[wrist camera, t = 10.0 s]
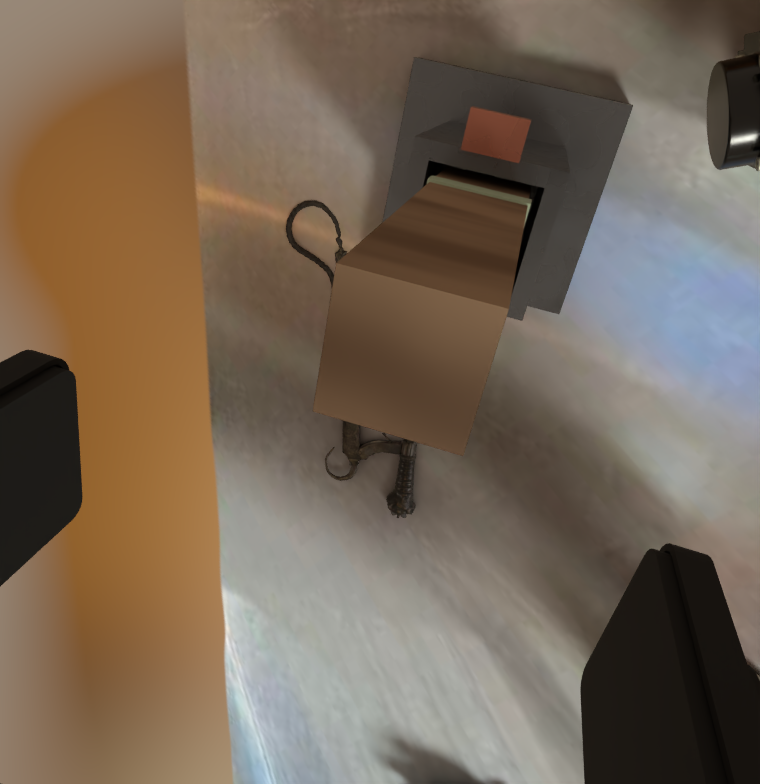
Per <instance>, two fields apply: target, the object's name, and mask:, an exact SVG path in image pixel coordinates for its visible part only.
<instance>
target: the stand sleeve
mask: <svg viewBox="0 0 760 784" xmlns="http://www.w3.org/2000/svg"><path fill="white" fill-rule="evenodd" d="M632 107H633V105H631V104H627V103H622V102H618V101H613V100H609V99H604V98H600V97H595V96H591V95H586V94H581V93H577V92H572V91H568V90H563V89H559V88H554V87H550V86H545V85H541V84H536V83H531V82H527V81H522V80H518V79H513V78H509V77H504V76H500V75H495V74H490V73H486V72H481V71H477V70H472V69H468V68H463V67H459V66H454V65H450V64H445V63H440V62H436V61H431V60H427V59H422V58H417V57H414V61H413V66H412V71H411V76H410V82H409V87H408V92H407V97H406V103H405V108H404V113H403V118H402V124H401V129H400V134H399V139H398V145H397V150H396V155H395V160H394V165H393V171H392V176H391V181H390V186H389V192H388V197H387V202H386V207H385V213H384V218H383V222H384V221H385V220H386V219H387V218H389V217H390V216H391V215H392V214H393V213H394V212H396V211H397V210H398V209H399V208H400V207H401V206H402V205H404V204H405V203H406V202H407V201H408V200H409V199H410V198H412V197H413V196H414V195H415V194H416V193H417V192H418V191H420V190H421V189H422V188H423V187H424V186H425V185H426V184H427V180H428V178H429V177H430V176H432V175H433V176H437V175H438V174H439V173H440V172H441V171H443V170H444V169H445V168H446V167H447V166H449V167H453V168H458V169H462V170H466V171H470V172H474V173H478V174H483V175H487V176H491V177H495V178H499V179H503V180H507V181H512V182H516V183H520V184H524V185H528V186H531V191H530V197H529V199H532V201H531V206H530V209H529V212H528V216H527V219H526V222H525V226H524V229H523V235H522V240H521V246H520V251H519V256H518V262H517V267H516V273H515V278H514V284H513V289H512V295H511V300H510V306H509V310H508V313H507V317H510V318H514V319H518V320H523V317H524V314H525V311H526V308H527V306H530V307H534V308H538V309H541V310H545V311H549V312H553V313H556V314H559V313H560V310H561V307H562V305H563V302H564V299H565V296H566V293H567V291H568V288H569V285H570V282H571V279H572V276H573V274H574V271H575V268H576V265H577V262H578V260H579V257H580V254H581V251H582V248H583V245H584V243H585V240H586V237H587V234H588V231H589V229H590V226H591V223H592V220H593V217H594V214H595V212H596V209H597V206H598V203H599V200H600V198H601V195H602V192H603V189H604V186H605V183H606V181H607V178H608V175H609V172H610V169H611V167H612V164H613V161H614V158H615V155H616V152H617V150H618V147H619V144H620V141H621V138H622V136H623V133H624V130H625V127H626V124H627V121H628V119H629V116H630V113H631V110H632Z"/></svg>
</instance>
